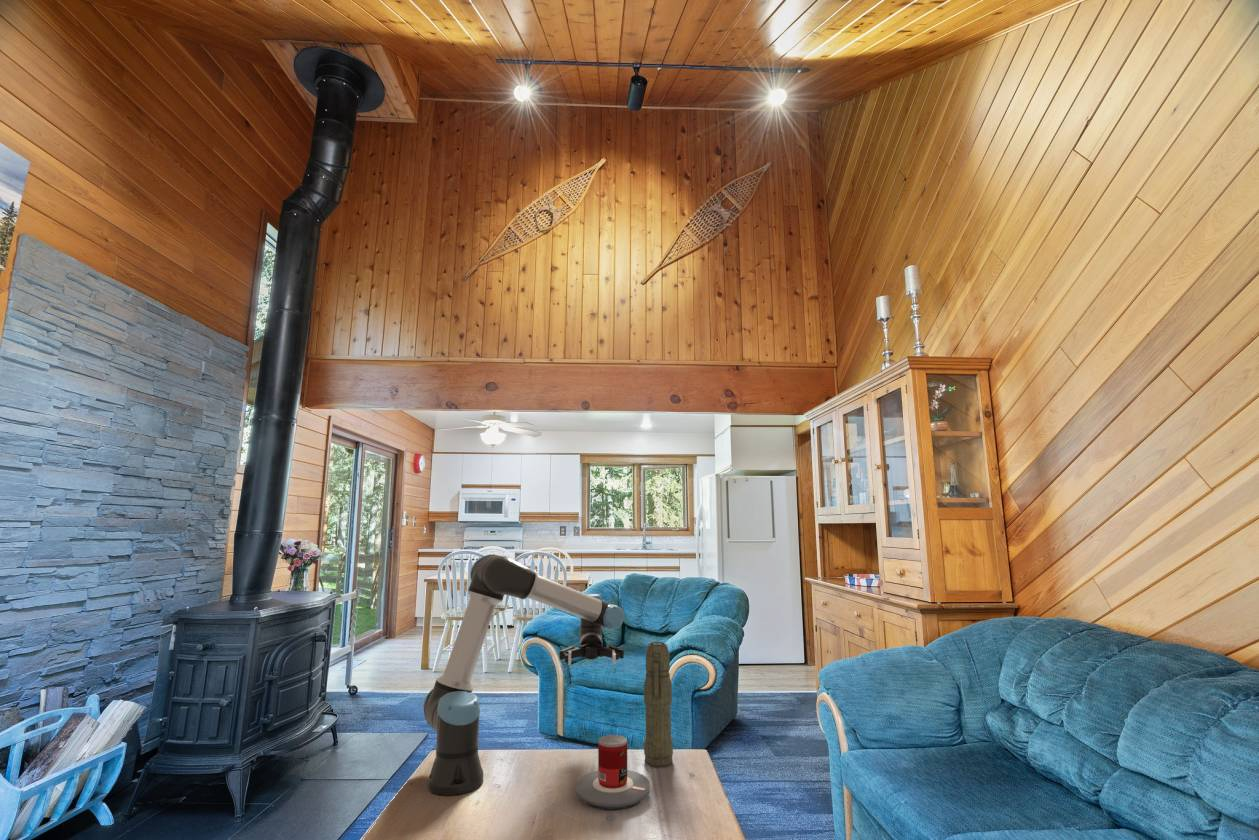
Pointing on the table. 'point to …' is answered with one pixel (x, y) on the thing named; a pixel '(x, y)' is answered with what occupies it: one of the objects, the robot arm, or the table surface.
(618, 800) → the turntable
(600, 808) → the turntable base
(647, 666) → the olive brown statue
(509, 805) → the table surface
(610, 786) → the canned food
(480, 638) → the robot arm
